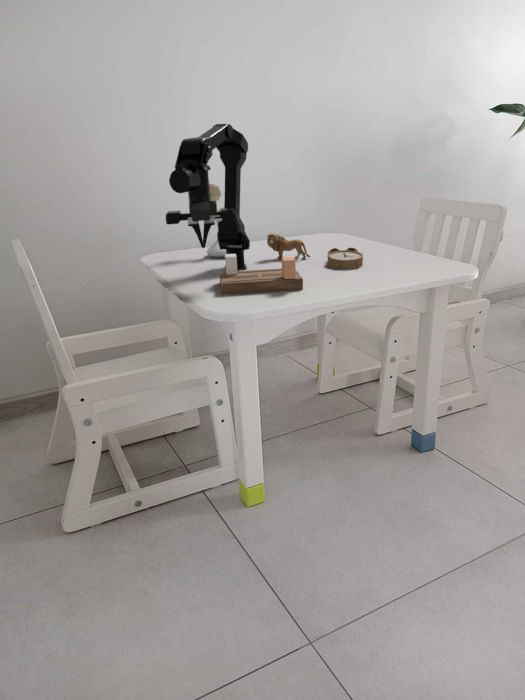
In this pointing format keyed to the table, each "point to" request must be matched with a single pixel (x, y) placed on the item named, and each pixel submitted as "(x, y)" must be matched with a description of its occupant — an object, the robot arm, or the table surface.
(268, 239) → the lion figurine
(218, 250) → the flower in vase
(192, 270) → the table surface
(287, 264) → the terracotta fader
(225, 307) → the table surface
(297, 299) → the table surface
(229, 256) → the block
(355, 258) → the alarm clock
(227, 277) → the board
